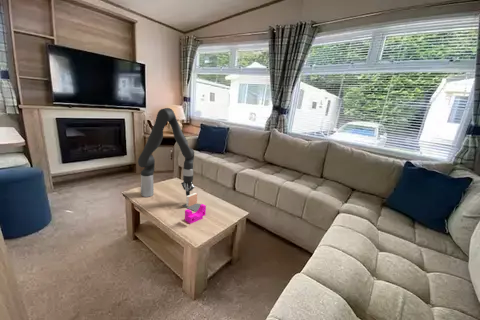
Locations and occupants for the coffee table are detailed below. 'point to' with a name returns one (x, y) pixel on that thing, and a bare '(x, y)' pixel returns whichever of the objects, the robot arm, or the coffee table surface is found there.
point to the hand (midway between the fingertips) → (187, 195)
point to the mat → (193, 207)
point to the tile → (191, 199)
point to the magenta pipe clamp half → (195, 214)
